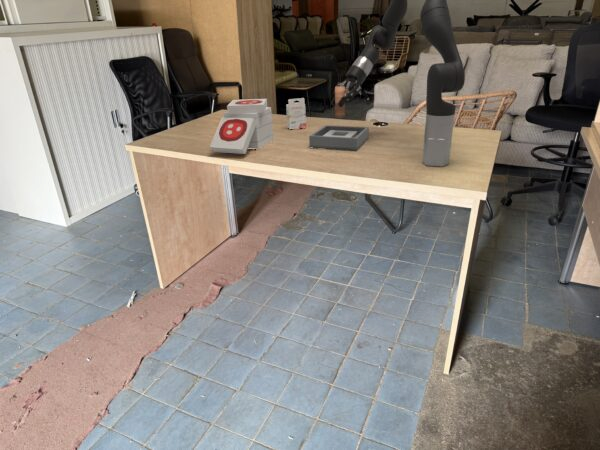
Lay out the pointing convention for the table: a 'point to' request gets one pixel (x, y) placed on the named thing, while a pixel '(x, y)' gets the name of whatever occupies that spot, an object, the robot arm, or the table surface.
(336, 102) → the peg
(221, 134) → the stack of white boxes
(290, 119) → the ink cartridge box
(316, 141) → the open box
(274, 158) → the table surface
